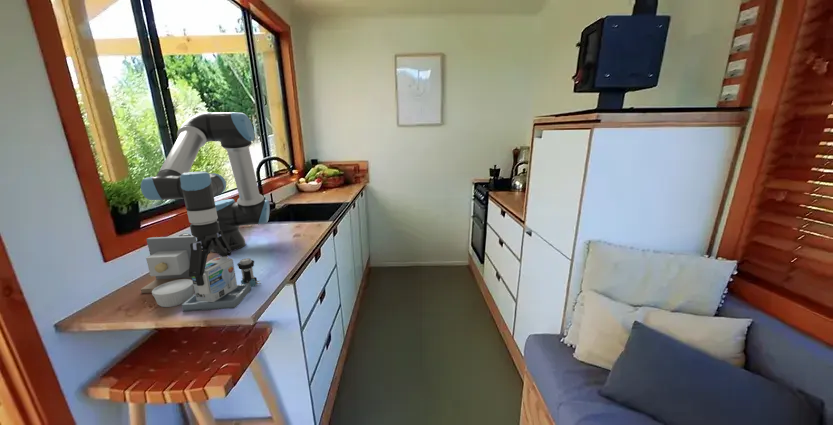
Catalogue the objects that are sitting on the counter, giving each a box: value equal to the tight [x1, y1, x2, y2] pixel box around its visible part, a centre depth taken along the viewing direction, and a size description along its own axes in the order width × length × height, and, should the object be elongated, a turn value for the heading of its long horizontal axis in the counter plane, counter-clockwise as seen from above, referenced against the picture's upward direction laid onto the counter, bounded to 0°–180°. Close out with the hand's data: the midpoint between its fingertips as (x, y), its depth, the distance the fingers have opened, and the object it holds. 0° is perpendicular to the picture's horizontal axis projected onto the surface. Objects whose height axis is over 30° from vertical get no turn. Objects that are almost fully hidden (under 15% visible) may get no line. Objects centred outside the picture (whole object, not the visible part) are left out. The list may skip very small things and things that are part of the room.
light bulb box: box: [192, 256, 238, 302], centre depth 102 cm, size 11×7×11 cm, turn 169°
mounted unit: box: [140, 235, 197, 294], centre depth 113 cm, size 10×16×18 cm, turn 95°
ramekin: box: [151, 279, 194, 308], centre depth 104 cm, size 11×11×5 cm
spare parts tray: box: [181, 284, 252, 313], centre depth 104 cm, size 12×16×2 cm
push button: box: [236, 257, 262, 288], centre depth 112 cm, size 7×5×10 cm
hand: (216, 283), depth 103 cm, fingers open, 13 cm apart
